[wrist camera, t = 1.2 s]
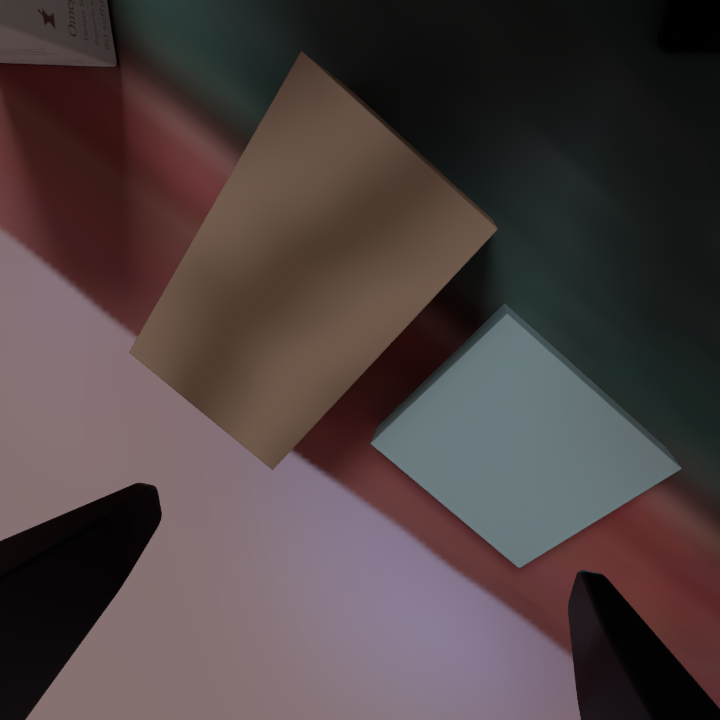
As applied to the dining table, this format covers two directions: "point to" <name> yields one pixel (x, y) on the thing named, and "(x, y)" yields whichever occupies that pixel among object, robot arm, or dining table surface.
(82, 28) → the supplement box
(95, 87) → the dining table surface
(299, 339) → the low shelf
